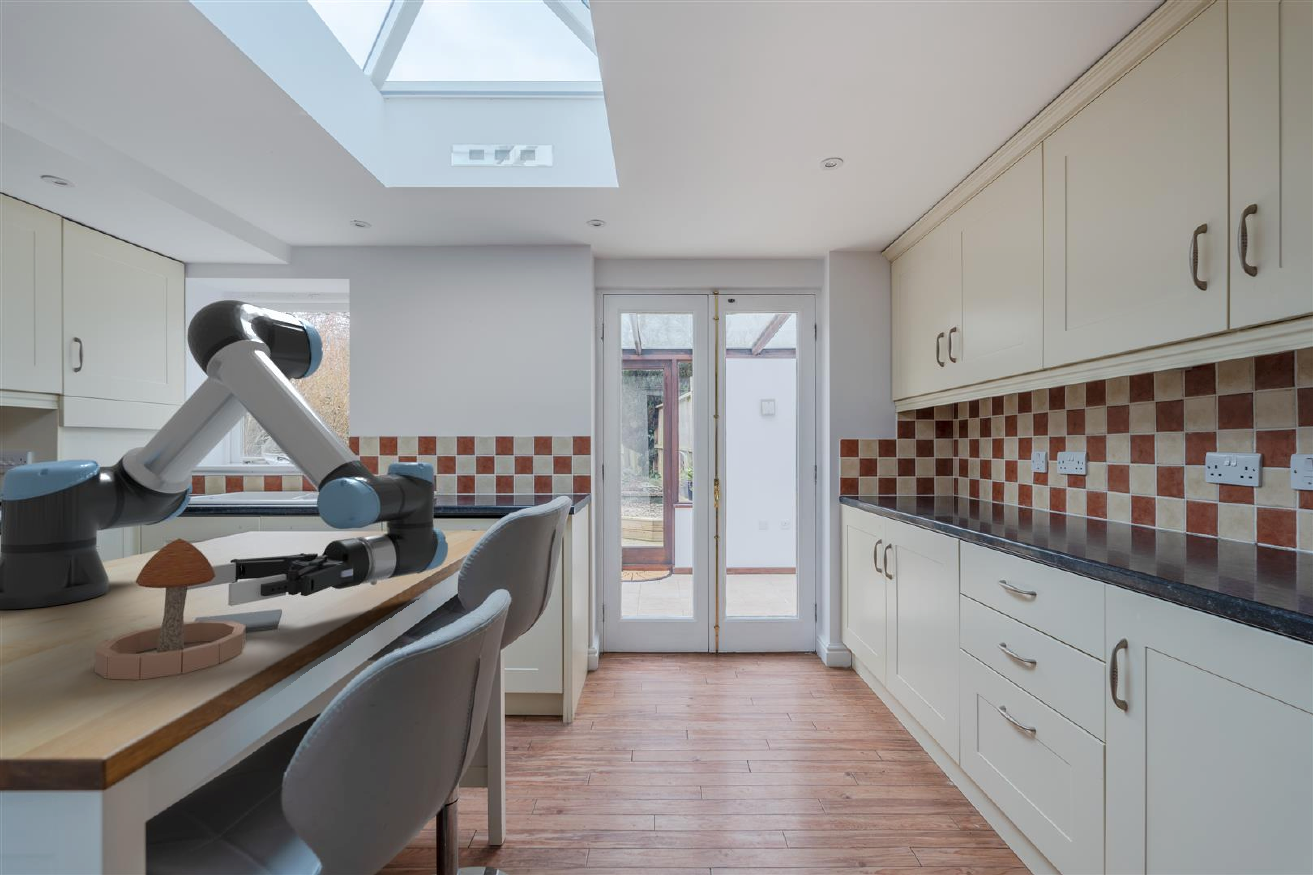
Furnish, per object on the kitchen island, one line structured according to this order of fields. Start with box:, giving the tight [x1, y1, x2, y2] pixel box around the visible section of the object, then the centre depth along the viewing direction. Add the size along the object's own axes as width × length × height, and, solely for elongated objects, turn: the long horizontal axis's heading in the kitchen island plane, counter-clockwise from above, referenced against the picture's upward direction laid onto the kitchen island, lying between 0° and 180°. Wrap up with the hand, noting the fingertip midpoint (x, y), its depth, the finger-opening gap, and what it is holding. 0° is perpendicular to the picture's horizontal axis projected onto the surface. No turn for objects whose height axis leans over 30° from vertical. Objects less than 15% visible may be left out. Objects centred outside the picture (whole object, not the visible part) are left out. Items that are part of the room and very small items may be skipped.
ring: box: [94, 620, 247, 680], centre depth 76 cm, size 14×14×2 cm
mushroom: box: [134, 538, 215, 653], centre depth 76 cm, size 8×8×15 cm
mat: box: [193, 608, 283, 633], centre depth 90 cm, size 9×11×1 cm
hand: (203, 587), depth 78 cm, fingers open, 13 cm apart
